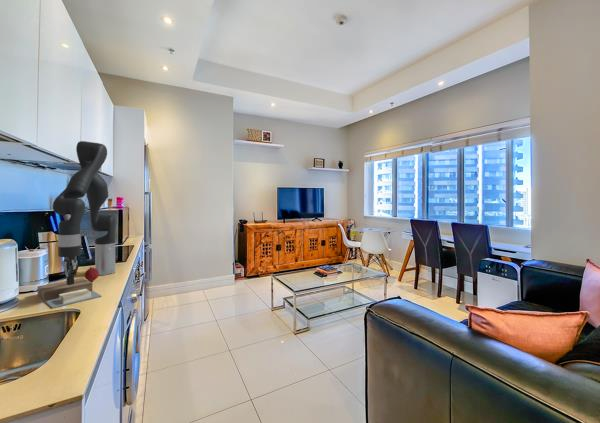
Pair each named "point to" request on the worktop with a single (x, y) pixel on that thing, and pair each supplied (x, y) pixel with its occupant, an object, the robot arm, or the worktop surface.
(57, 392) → the worktop surface
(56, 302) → the mat
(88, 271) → the onion
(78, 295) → the tile
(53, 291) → the deck
